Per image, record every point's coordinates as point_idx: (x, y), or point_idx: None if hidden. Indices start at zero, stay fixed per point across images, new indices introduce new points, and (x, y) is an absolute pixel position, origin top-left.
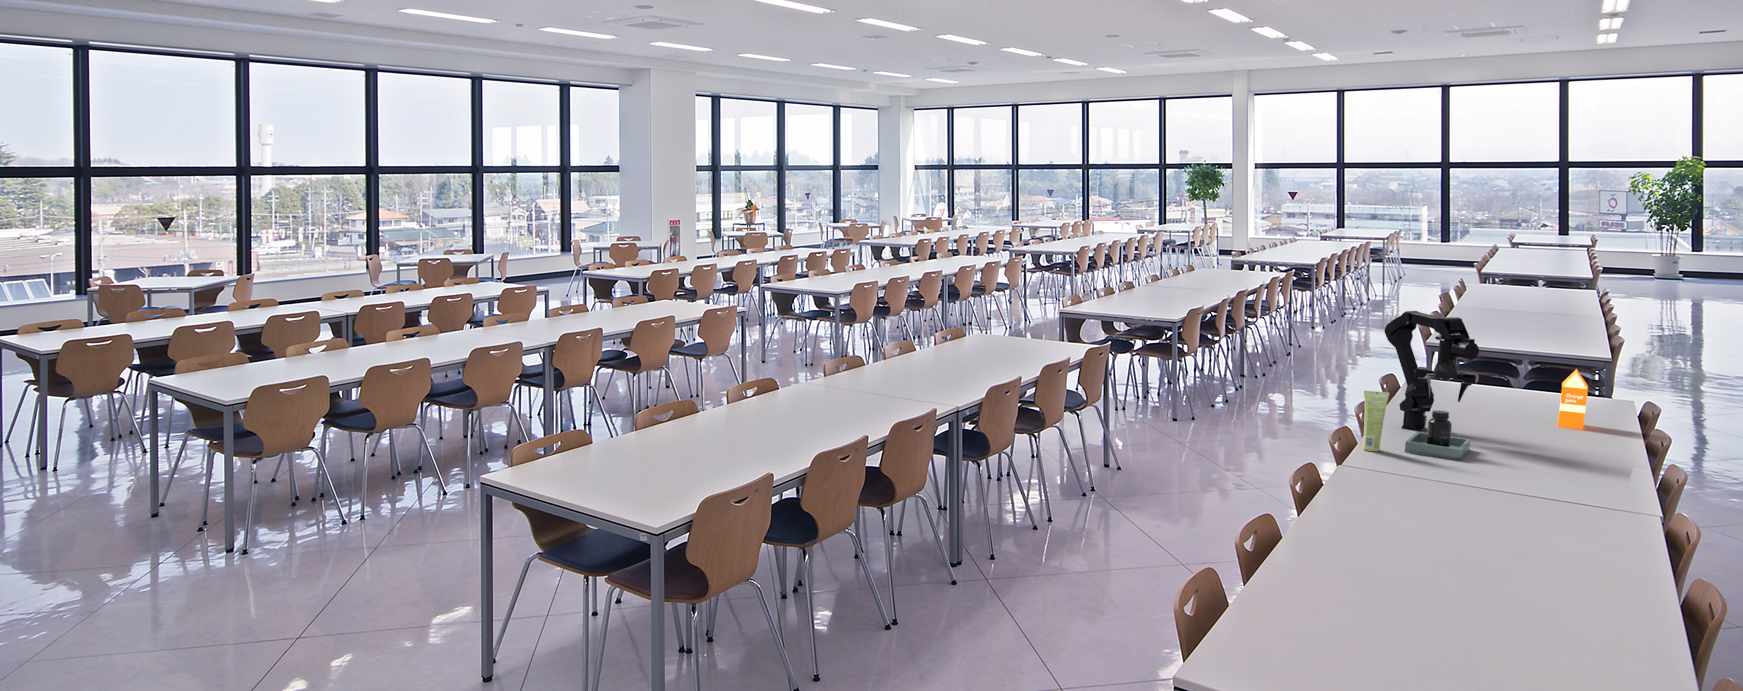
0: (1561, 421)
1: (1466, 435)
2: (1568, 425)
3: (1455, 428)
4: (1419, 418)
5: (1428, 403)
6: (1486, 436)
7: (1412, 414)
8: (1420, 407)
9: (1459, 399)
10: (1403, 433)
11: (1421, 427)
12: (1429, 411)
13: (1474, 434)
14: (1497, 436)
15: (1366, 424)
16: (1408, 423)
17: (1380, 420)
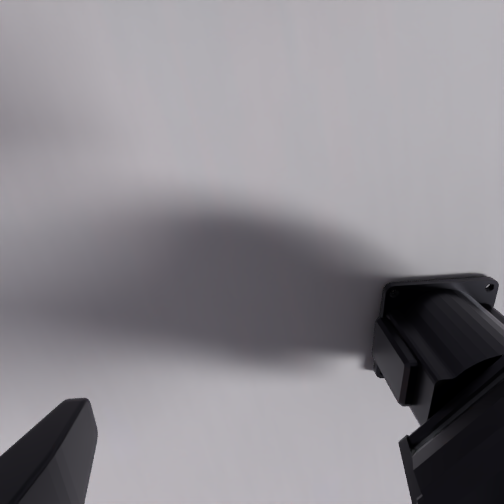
0: None
1: (152, 351)
2: None
3: (241, 447)
4: (436, 343)
5: (453, 449)
6: (65, 394)
7: (501, 341)
8: (493, 387)
9: (39, 429)
10: (479, 154)
11: (392, 314)
12: (400, 440)
13: (128, 396)
14: (26, 427)
15: None
16: (477, 305)
17: None
